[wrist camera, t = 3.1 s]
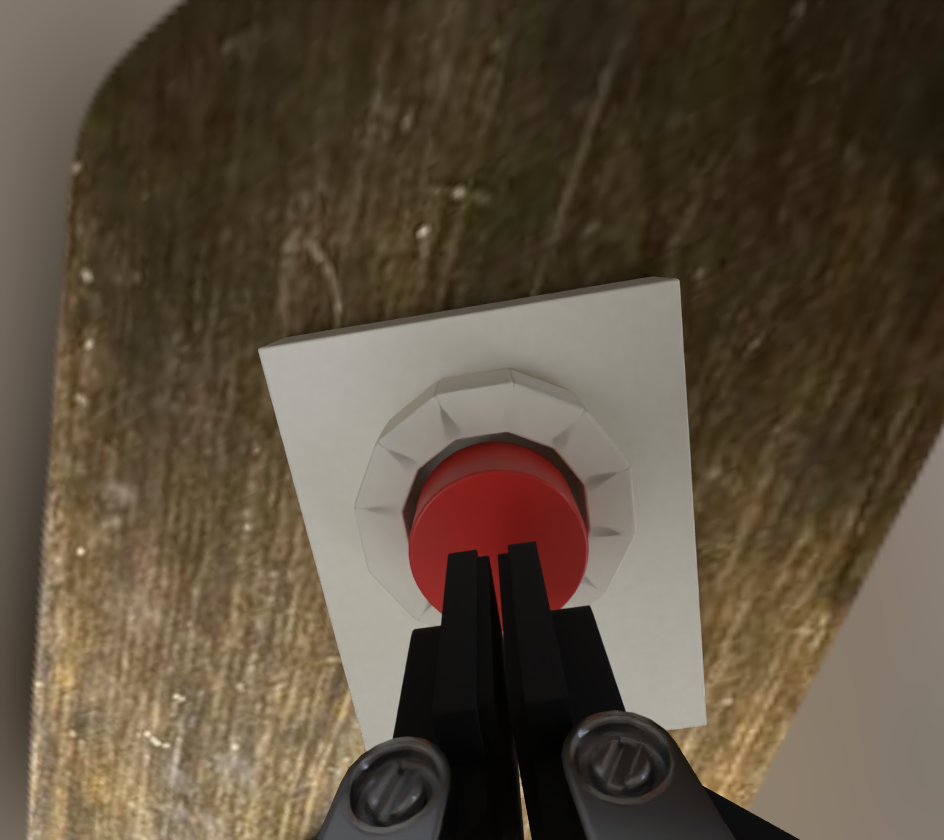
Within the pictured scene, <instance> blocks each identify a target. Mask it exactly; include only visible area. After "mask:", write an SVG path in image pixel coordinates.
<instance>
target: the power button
mask: <svg viewBox="0 0 944 840" xmlns="http://www.w3.org/2000/svg"><path fill="white" fill-rule="evenodd" d="M531 541H536V544H537V549H538V554H539V558H540V563H541V568H542V573H543V577H544V582H545V587H546V591H547V596H548V601H549V605H550V610H557V609H561V608H562V607H563V606H564V605H565V604H566V603H567V602H568V601H569V600H570V599H571V597H572V596H573V595H574V593H575V592H576V590H577V589H578V587H579V585H580V583H581V581H582V579H583V576H584V574H585V571H586V567H587V563H588V555H589V543H588V536H587V531H586V528H585V525H584V522H583V519H582V517H581V514H580V512H579V509H578V507H577V505H576V502H575V500H574V497H573V495H572V492H571V490H570V488H569V485H568V483H567V482H566V480H565V478H564V476H563V475H562V474H561V472H560V471H559V469H558V468H557V467H556V466H555V465H554V464H553V463H552V462H551V461H549V460H548V459H547V458H546V457H544V456H543V455H541V454H540V453H538V452H536V451H535V450H532V449H530V448H528V447H526V446H522V445H519V444H515V443H509V442H497V441H493V442H483V443H478V444H473V445H470V446H468V447H465V448H462V449H460V450H458V451H456V452H454V453H453V454H451V455H450V456H448V457H447V458H445V459H444V460H443V461H442V462H441V463H440V464H438V465H437V467H436V468H435V469H434V470H433V471H432V472H431V474H430V475H429V477H428V478H427V480H426V481H425V484H424V486H423V488H422V490H421V493H420V497H419V500H418V504H417V508H416V512H415V516H414V521H413V525H412V529H411V533H410V539H409V563H410V568H411V571H412V575H413V577H414V580H415V582H416V584H417V586H418V588H419V589H420V591H421V592H422V594H423V596H424V597H425V598H426V599H427V600H428V602H429V603H430V604H431V605H432V606H433V607H434V608H435V609H437V610H438V611H439V612H440V613H442V608H443V599H444V589H445V579H446V569H447V559H448V554H449V553H455V552H462V551H469V550H476V549H477V552H478V556H479V557H481V556H488V555H489V558H490V563H491V569H492V575H493V581H494V586H495V592H496V598H497V604H498V609H499V615H500V621H501V627H502V631H503V625H502V611H501V597H500V583H499V568H498V554H502V553H508V545H510V544H517V543H524V542H531Z"/></svg>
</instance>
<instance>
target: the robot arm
mask: <svg viewBox="0 0 944 840" xmlns="http://www.w3.org/2000/svg"><path fill="white" fill-rule="evenodd" d="M498 568H499V583H500V597H501V611H502V625H503V633H502V627H501V621H500V615H499V609H498V604H497V598H496V592H495V586H494V581H493V575H492V569H491V563H490V558H489V555H488V556H481V557H479V556H478V552H477V549H476V550H469V551H462V552H455V553H449V554H448V559H447V569H446V579H445V589H444V599H443V608H442V618H441V625H440V626H433V627H426V628H418V629H414V630H413V631H412V634H411V638H410V644H409V650H408V655H407V661H406V666H405V672H404V677H403V683H402V689H401V694H400V700H399V705H398V711H397V717H396V722H395V728H394V733H393V739H391V740H388V741H385V742H383V743H380V744H378V745H376V746H374V747H373V748H371V749H370V750H368V751H367V752H365V753H364V754H362V755H361V756H360V757H359V758H358V759H357V760H356V761H355V762H354V763H353V764H352V765H351V767H350V768H349V769H348V771H347V773H346V774H345V776H344V778H343V780H342V781H341V783H340V785H339V788H338V790H337V792H336V795H335V797H334V800H333V802H332V804H331V807H330V809H329V812H328V814H327V816H326V819H325V821H324V823H323V826H322V828H321V831H320V833H319V835H318V838H317V840H524V831H523V819H522V807H521V794H520V782H519V770H520V776H521V781H522V787H523V793H524V798H525V804H526V809H527V815H528V821H529V826H530V832H531V838H532V840H799V839H798V838H796V837H794V836H792V835H790V834H789V833H787V832H785V831H783V830H781V829H780V828H778V827H776V826H774V825H772V824H771V823H769V822H767V821H765V820H763V819H762V818H760V817H758V816H756V815H754V814H753V813H750V812H749V811H747V810H745V809H744V808H742V807H740V806H738V805H736V804H735V803H733V802H731V801H729V800H727V799H726V798H724V797H722V796H720V795H718V794H717V793H715V792H713V791H711V790H709V789H708V788H706V787H704V786H702V784H701V782H700V781H699V779H698V778H697V776H696V774H695V773H694V771H693V769H692V768H691V766H690V765H689V763H688V761H687V760H686V758H685V756H684V755H683V753H682V751H681V750H680V748H679V747H678V745H677V743H676V742H675V740H674V739H673V738H672V737H671V736H670V735H669V733H668V732H667V731H666V730H665V729H664V728H663V727H662V726H660V725H659V724H657V723H656V722H654V721H653V720H651V719H650V718H647V717H644V716H642V715H639V714H636V713H633V712H626V710H625V707H624V704H623V701H622V698H621V695H620V692H619V689H618V686H617V683H616V680H615V677H614V674H613V671H612V668H611V665H610V662H609V659H608V656H607V653H606V650H605V647H604V644H603V641H602V638H601V635H600V632H599V629H598V626H597V623H596V620H595V617H594V614H593V611H592V609H591V606H590V605H586V606H579V607H572V608H564V609H557V610H550V605H549V601H548V596H547V591H546V587H545V582H544V577H543V573H542V568H541V563H540V558H539V554H538V549H537V544H536V541H531V542H524V543H517V544H510V545H508V553H502V554H498ZM518 764H519V770H518Z"/></svg>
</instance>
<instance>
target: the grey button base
mask: <svg viewBox="0 0 944 840" xmlns="http://www.w3.org/2000/svg"><path fill="white" fill-rule="evenodd" d="M258 352H259V355H260V359H261V363H262V367H263V370H264V374H265V378H266V381H267V385H268V389H269V393H270V396H271V400H272V404H273V407H274V411H275V415H276V419H277V422H278V426H279V430H280V433H281V437H282V441H283V445H284V448H285V452H286V456H287V459H288V463H289V467H290V471H291V474H292V478H293V482H294V485H295V489H296V493H297V497H298V500H299V504H300V508H301V511H302V515H303V519H304V523H305V526H306V530H307V534H308V537H309V541H310V545H311V549H312V552H313V556H314V560H315V563H316V567H317V571H318V575H319V578H320V582H321V586H322V589H323V593H324V597H325V601H326V604H327V608H328V612H329V615H330V619H331V623H332V627H333V630H334V634H335V638H336V641H337V645H338V649H339V653H340V656H341V660H342V664H343V667H344V671H345V675H346V679H347V682H348V686H349V690H350V693H351V697H352V701H353V705H354V708H355V712H356V716H357V719H358V723H359V727H360V731H361V734H362V738H363V742H364V745H365V749H366V752H367V751H368V750H370V749H371V748H373V747H374V746H376V745H378V744H380V743H383V742H385V741H388V740H391V739H393V733H394V728H395V722H396V717H397V711H398V705H399V700H400V694H401V689H402V683H403V677H404V672H405V666H406V661H407V655H408V650H409V644H410V638H411V634H412V631H413V630H414V629H418V628H426V627H433V626H440V625H441V618H442V613H440V612H439V611H438V610H437V609H435V608H434V607H433V606H432V605H431V604H430V603H429V602H428V600H427V599H426V598H425V597H424V596H423V594H422V592H421V591H420V589H419V588H418V586H417V584H416V582H415V580H414V577H413V575H412V571H411V568H410V563H409V539H410V533H411V529H412V525H413V521H414V516H415V512H416V508H417V504H418V500H419V497H420V493H421V490H422V488H423V486H424V484H425V481H426V480H427V478H428V477H429V475H430V474H431V472H432V471H433V470H434V469H435V468H436V467H437V465H438V464H440V463H441V462H442V461H443V460H444V459H445V458H447V457H448V456H450V455H451V454H453V453H454V452H456V451H458V450H460V449H462V448H465V447H468V446H470V445H473V444H478V443H483V442H493V441H497V442H509V443H515V444H519V445H522V446H526V447H528V448H530V449H532V450H535V451H536V452H538V453H540V454H541V455H543V456H544V457H546V458H547V459H548V460H549V461H551V462H552V463H553V464H554V465H555V466H556V467H557V468H558V469H559V471H560V472H561V474H562V475H563V476H564V478H565V480H566V482H567V483H568V485H569V488H570V490H571V492H572V495H573V497H574V500H575V502H576V505H577V507H578V509H579V512H580V514H581V517H582V519H583V522H584V525H585V528H586V531H587V536H588V543H589V555H588V563H587V567H586V571H585V574H584V576H583V579H582V581H581V583H580V585H579V587H578V589H577V590H576V592H575V593H574V595H573V596H572V597H571V599H570V600H569V601H568V602H567V603H566V604H565V605H564V606H563V607H562V608H561V609H564V608H572V607H579V606H586V605H590V606H591V609H592V611H593V614H594V617H595V620H596V623H597V626H598V629H599V632H600V635H601V638H602V641H603V644H604V647H605V650H606V653H607V656H608V659H609V662H610V665H611V668H612V671H613V674H614V677H615V680H616V683H617V686H618V689H619V692H620V695H621V698H622V701H623V704H624V707H625V710H626V712H633V713H636V714H639V715H642V716H644V717H647V718H650V719H651V720H653V721H654V722H656V723H657V724H659V725H660V726H662V727H663V728H664V729H665V730H672V729H680V728H688V727H696V726H704V725H706V724H707V720H706V704H705V687H704V671H703V655H702V638H701V622H700V605H699V589H698V573H697V556H696V540H695V524H694V507H693V491H692V475H691V458H690V442H689V425H688V409H687V393H686V376H685V360H684V344H683V327H682V311H681V295H680V281H679V279H675V278H663V277H646V278H640V279H634V280H628V281H622V282H616V283H610V284H604V285H598V286H592V287H586V288H580V289H574V290H568V291H562V292H556V293H550V294H544V295H538V296H532V297H526V298H520V299H514V300H508V301H502V302H496V303H490V304H484V305H478V306H472V307H466V308H460V309H454V310H448V311H442V312H436V313H430V314H424V315H418V316H412V317H406V318H400V319H394V320H388V321H382V322H376V323H370V324H363V325H357V326H351V327H345V328H339V329H333V330H327V331H321V332H315V333H309V334H303V335H297V336H291V337H286V338H283V339H281V340H278V341H276V342H273V343H271V344H268V345H266V346H263V347H261V348H259V349H258ZM502 633H503V631H502Z"/></svg>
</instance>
